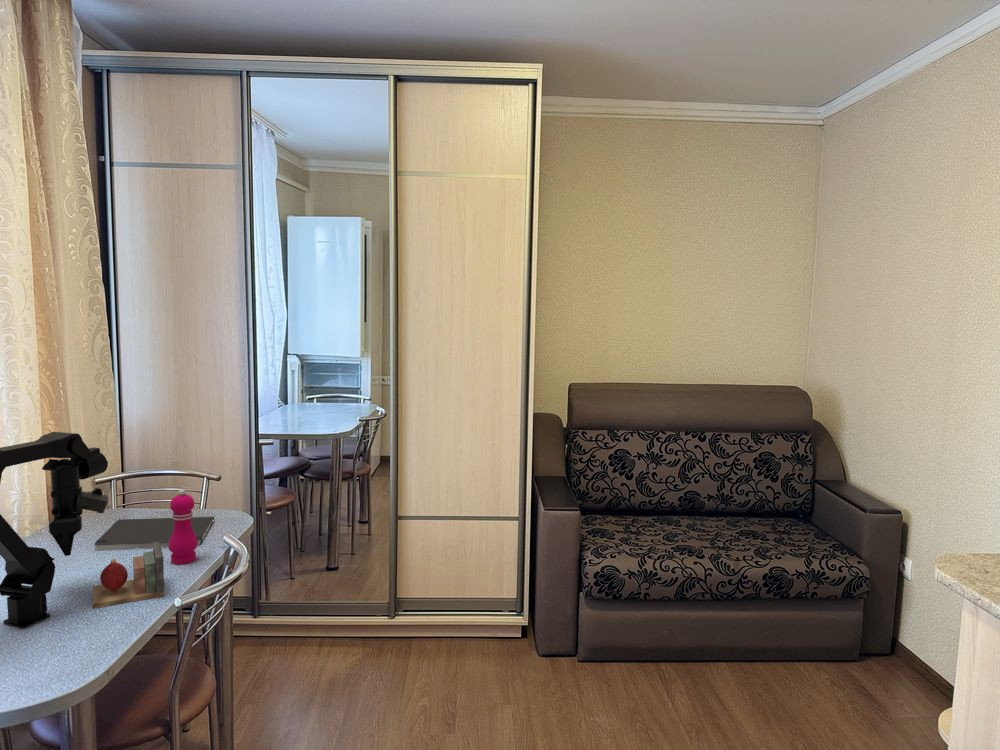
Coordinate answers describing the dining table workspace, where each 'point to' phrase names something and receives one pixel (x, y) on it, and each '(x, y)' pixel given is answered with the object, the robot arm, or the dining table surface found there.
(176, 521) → the pepper mill
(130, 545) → the notebook
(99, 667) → the dining table surface
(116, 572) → the pomegranate
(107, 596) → the book shelf
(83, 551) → the dining table surface
